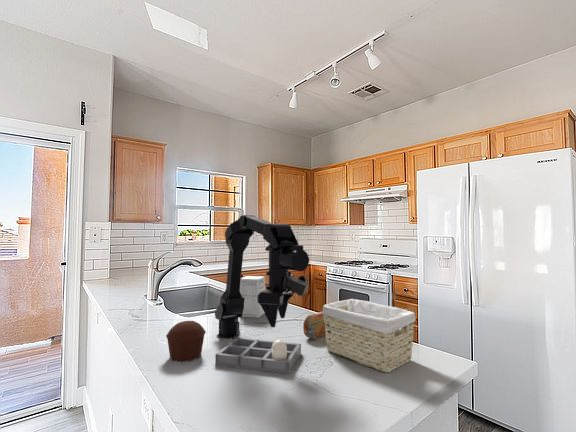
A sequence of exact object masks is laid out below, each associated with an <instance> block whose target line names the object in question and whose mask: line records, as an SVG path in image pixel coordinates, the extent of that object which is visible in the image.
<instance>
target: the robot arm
mask: <svg viewBox="0 0 576 432" xmlns="http://www.w3.org/2000/svg"><path fill="white" fill-rule="evenodd" d="M224 231H225V232H224V237H225V244H226V246H227V248H228V251H229V253H228V265H227V275H226V287H225V291H224V292H223V293H222V295H221V296H220V301H219V304H218V306H217V307H216V309H215V311H214V316H215V317H214V318H215V319H216V320H218V334H216V337H217V338H225V339H234V338H235V337H237V336H238V335H239V334H241V331H240V321H239V319H240V318H243V317H242V314H243V309H244V300H245V299H244V297H242V295H241V293H240V282H241V278H242V271H243V262H244V261H243V258H244V252H245V250H246V249H247V248H248V246H249V243H250V239H251V237H252V236H253V235H254V233H258V234H260V235H261V236H262V239H263V240H264V241H265V242H266V243H268V245H267V246H266V247H265V249H264V250H265V251H266V252H268V270H267V271H266V276H268V285H265V290H264V291H262V292H260V293H259V294H258V295H257V302H258V303H259V304H260V305H261V307H262V309H263V310H264V312H265V313H264V315H265V316H266V319H267V321H268V324H269V325H270V328H275V327H276V324H277V319H278V314H279V317H280V319H285V317H286V313H287V309H288V306H289V301H290V299H291V298H292V297H293V296H294V295H295V294H297V295H298V296H299V297H303V296H304V295H305V294H306V293H307V289H308V287H309V282H308V280H307V276H305V275H299V277H297V276H296V277H295V276H292V271H295V272H304V271H305V270H306V269H307V268H308V267H309V263H310V257H309V255H308V252H307V251H306V250H305V249H304V246H303V244H302V245H301V244H299V241H298V239H297V238H296V235H295V233H294V231H293V228H292V226H291V225H290V224H288V223H273V222H270V221H268V220H264V219H262V218H260V217H257V216H255V215H253V214H242V215H240V217H239V218H237V220H235V221H233V222H231V223H230V224H229V225H228V227H226V229H225V230H224Z"/></svg>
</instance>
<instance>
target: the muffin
mask: <svg viewBox="0 0 576 432" xmlns="http://www.w3.org/2000/svg"><path fill="white" fill-rule="evenodd" d="M206 332H207V331H206V330H205V328H204V327H203V326H202V325H201V324H200V323H199V322H197V321H194V320H184V321H180V322H178V323H175V324H174V325H173V326H172V327H171V328H170V329H169V331H168V332H167V334H166V339H167V344H168V345H167V346H168V354H169V358H170V359H171V360H172V362H178V363H183V362H191V361H194V360H196V359H199V358H200V356H201V355H202V351H203V345H204V340H205V335H206Z"/></svg>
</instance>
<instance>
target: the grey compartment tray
mask: <svg viewBox="0 0 576 432" xmlns="http://www.w3.org/2000/svg"><path fill="white" fill-rule="evenodd" d="M274 341H275V340H274ZM274 341H273V340H263V339H256V338H255V339H254V338H243V337H236V338H235V339H233V340H232V341H231V342H229V343H228V344H226V345H225V346H224V347H223V348H222V349H220V350H219V351H218V352H216V353H215V356H214V357H215V363H214V364H215V366H219V367H227V368H237V369H242V370H243V369H245V370H252V371H254V370H255V371H259V372H267V373H276V374H283V375H285V374H286V375H289V374H290V373H291V371H292V369H293V368H294V366H295V364H296V363H297V361H298V360H299V357H301V355H302V344H301V343H296V342H295V343H293V342H287V341H284V342H285V343H286V345H287V360H286V361H284V360H275V359H272V344H273V342H274Z"/></svg>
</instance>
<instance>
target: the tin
mask: <svg viewBox="0 0 576 432" xmlns="http://www.w3.org/2000/svg"><path fill="white" fill-rule="evenodd" d="M322 312H323V311H320V312H316V313H312V314H309V315H308V316H307V317H305V318H304V321H303V327H302V329H303V334H304V335H305V337H306V338H308V339H310V340H313V341H314V340H315V341H316V340H319V339H321V338H326V334H325V333H326V331H325V322H324V314H323V313H322Z"/></svg>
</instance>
